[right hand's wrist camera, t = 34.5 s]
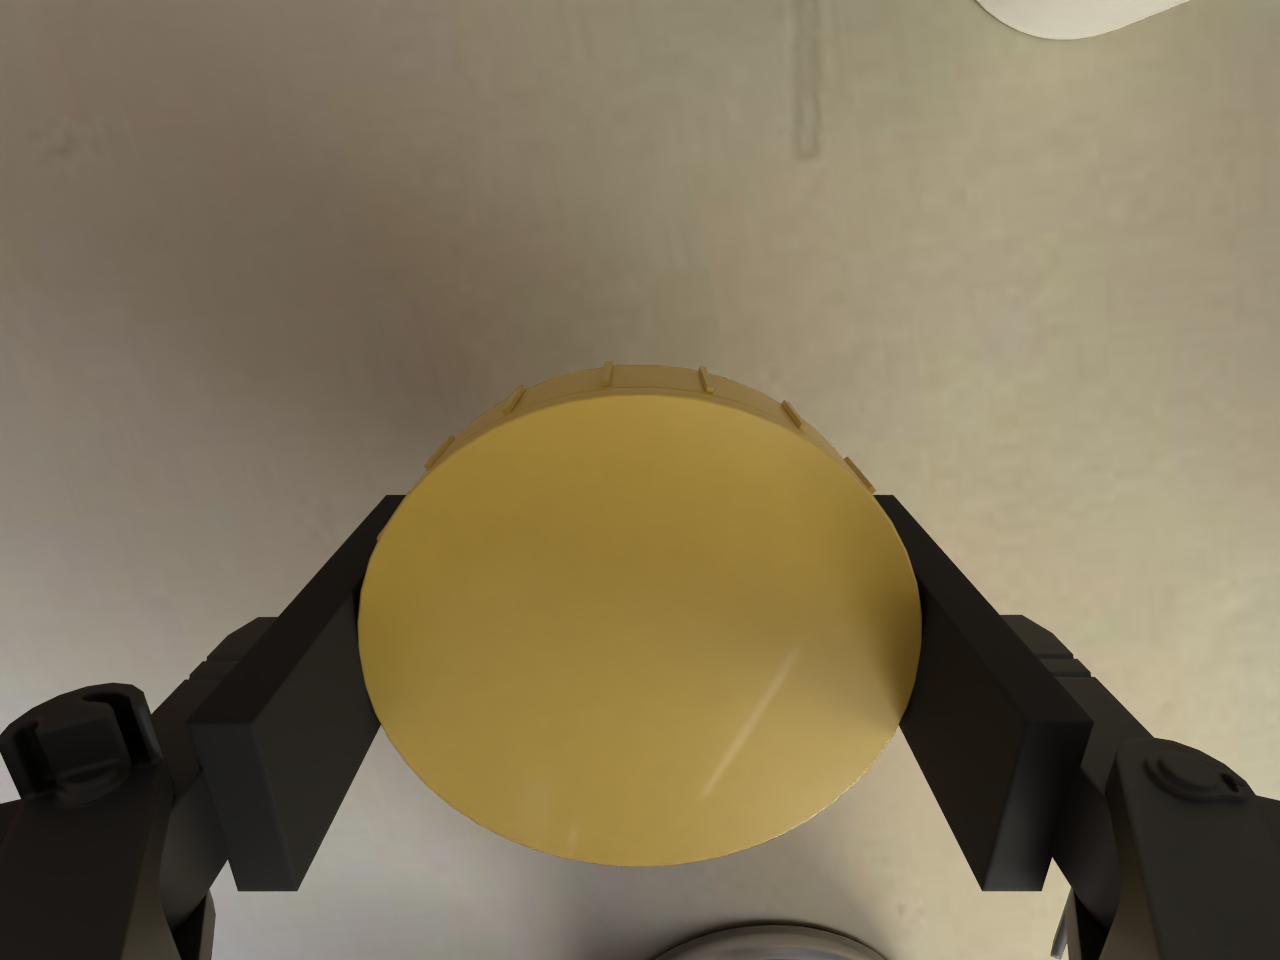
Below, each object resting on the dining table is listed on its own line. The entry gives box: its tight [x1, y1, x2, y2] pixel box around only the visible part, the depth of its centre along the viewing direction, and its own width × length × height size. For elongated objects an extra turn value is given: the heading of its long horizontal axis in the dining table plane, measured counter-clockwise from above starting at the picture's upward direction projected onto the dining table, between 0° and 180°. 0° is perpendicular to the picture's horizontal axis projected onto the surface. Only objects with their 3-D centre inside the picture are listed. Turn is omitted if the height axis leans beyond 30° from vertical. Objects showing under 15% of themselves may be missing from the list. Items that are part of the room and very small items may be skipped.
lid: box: [357, 361, 922, 866], centre depth 11 cm, size 9×9×2 cm
